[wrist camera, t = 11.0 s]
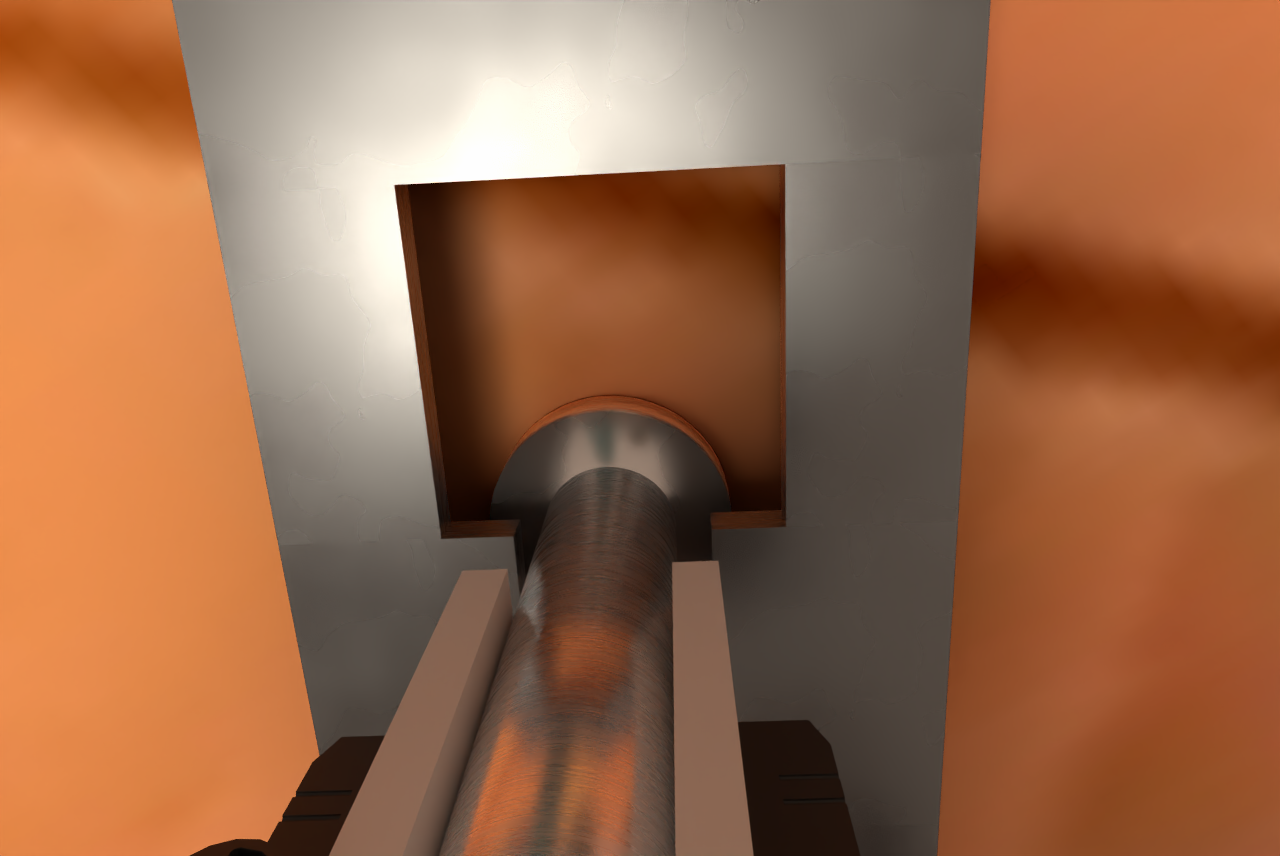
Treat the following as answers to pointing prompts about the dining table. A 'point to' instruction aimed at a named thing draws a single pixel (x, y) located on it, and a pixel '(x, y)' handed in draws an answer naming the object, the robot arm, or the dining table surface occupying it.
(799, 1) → the keyhole plate
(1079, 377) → the dining table surface
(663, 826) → the steel peg
